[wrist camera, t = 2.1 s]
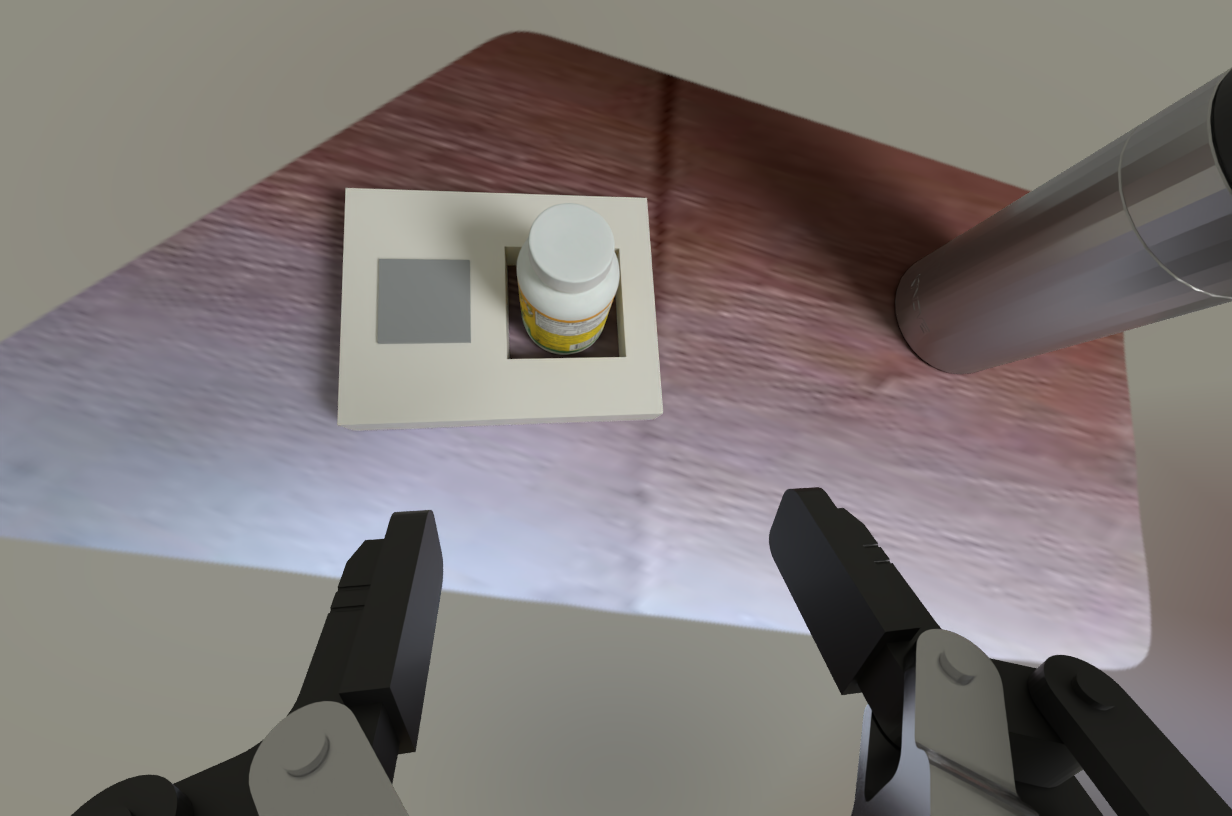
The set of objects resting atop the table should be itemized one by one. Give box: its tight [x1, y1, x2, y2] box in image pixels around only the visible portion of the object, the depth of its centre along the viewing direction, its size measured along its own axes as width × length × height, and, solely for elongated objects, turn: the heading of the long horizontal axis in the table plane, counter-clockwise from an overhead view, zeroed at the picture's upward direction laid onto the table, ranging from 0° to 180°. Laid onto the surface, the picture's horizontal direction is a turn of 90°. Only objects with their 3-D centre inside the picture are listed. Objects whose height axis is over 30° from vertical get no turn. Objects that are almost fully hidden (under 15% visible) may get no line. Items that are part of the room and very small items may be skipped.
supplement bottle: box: [517, 203, 620, 355], centre depth 27 cm, size 5×5×10 cm
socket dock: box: [337, 188, 663, 431], centre depth 30 cm, size 18×14×3 cm
